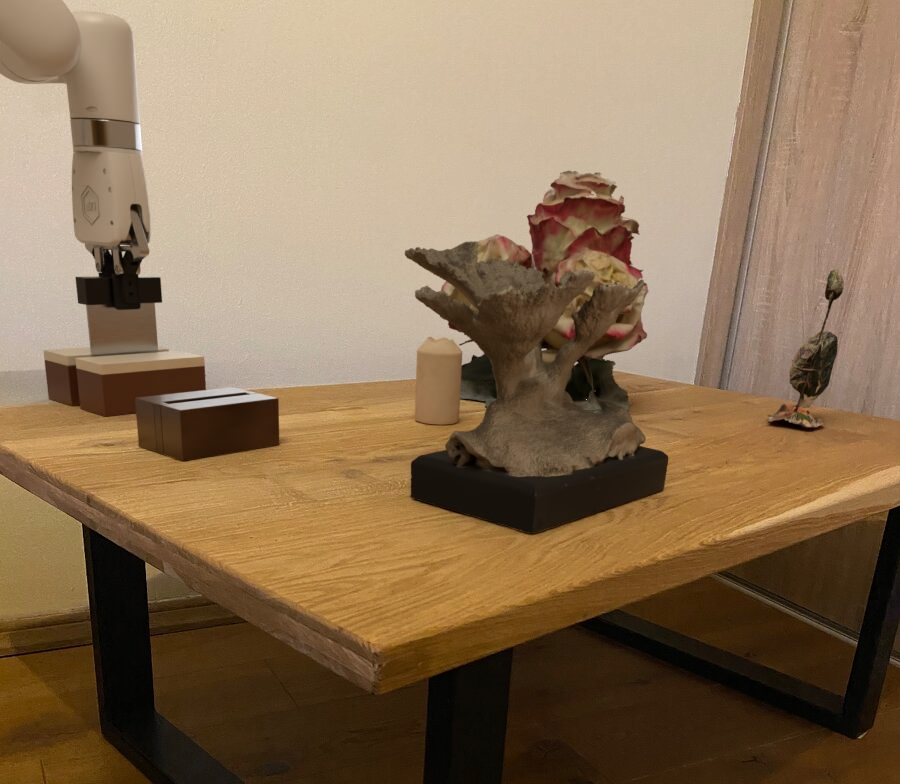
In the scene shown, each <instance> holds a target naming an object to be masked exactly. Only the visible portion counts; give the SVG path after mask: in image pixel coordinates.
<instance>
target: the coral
mask: <svg viewBox="0 0 900 784" xmlns="http://www.w3.org/2000/svg"><path fill="white" fill-rule="evenodd" d="M478 245H479V244H478V242H477V240H475V241H464V242H462V243H460V244H458V245H456V246H455V247H452V248H451V249H450V248H446V249H443V250H438V249H435V248H431V247H430V248H429V249H426V248H425V247H423V248H421V247H420V246H418V247H417V246H416V247H415V248H413V247H412V248H408V249H405V250H404V256H405V257H406V258H407V259H408V260H411V261H412V262H414V263H415V264H417V265H418V266H419V267H421V268H422V269H424V270H426V271H428V272H429V273H431V274H433V275H435V276H436V277H439V278H440V279H442V280H443V281H444V282H446V281H447V282H448V283H449V284H451V285H453V287H455V288H456V289H457V290H459V291H460V292H461V293H462V294H463V295H464V296H465V297H466V298H467V299H468V301H469V302H470V303H471V304H472V305H473V306H474V307H475V308H476V309H478V310H479V312H478V313H477V312H476V311H473V310H472V308H470V307H469V306H467V305H466V304H465V303H464V302H459V301H457V300H456V299H451V297H450V295H448V294H447V293H446V292H445V291H444V290H441V289H440V290H438V291H436V290H434V289H432V287H430V286H429V285H428V284H427V285H426V286H421V287H420V289H416V290H414V297H415V299H416V300H417V301H419V302H420V303H422V304H423V305H424V306H425V307H427V308H428V309H430V310H431V311H433V312H434V313H435V314H437V315H439V317H440V318H441V319H442V320H445V321H447V322H450V323H451V324H453V325H454V326H455V327H456V328H458V329H459V330H460V331H461V332H460V333H462V334H464V333H465V334H466V335H465V336H466V337H468V338H469V340H471V339H472V340H473V342H474V343H475V344H476V345H477V346H478V348H479V349H480V351H482V352H483V354H486V355H487V356H488V357H489V359H490V361H491V364H492V370H493V375H494V378H495V381H496V388H497V399H496V400H495V401H493V402H491V403H490V404H489V405H488V407H486V409H485V412H484V415H483V418H482V421H481V422H480V423H479V424H478V425H477V426H476V427H475V428H473V429H471V430H467V431H465V430H464V431H463V430H462V431H459V430H455V431H453V432H452V433H451V434H450V436H449V439H448V441H447V442H446V443H445V445H444V447H445V449H444V450H439V451H434V452H429V453H425V454H420V455H418V456H417V457H416V458H414V459H413V460H411V462H410V498H411V499H414V500H416V501H417V500H418V501H421V502H423V503H427V504H431V505H433V506H436V507H440V508H444V509H447V510H450V511H454V512H458V513H461V514H465V515H468V516H471V517H475V518H479V519H481V520H485V521H488V522H492V523H495V524H497V525H501V526H505V527H509V528H511V529H514V530H517V531H520V532H524V533H528V534H536V533H540V532H544V531H545V530H549V529H552V528H556V527H558V526H561V525H563V524H566V523H571V522H573V521H576V520H579V519H583V518H585V517H587V516H591V515H595V514H597V513H600V512H603V511H606V510H609V509H612V508H615V507H618V506H621V505H624V504H628V503H630V502H633V501H636V500H640V499H642V498H647V497H648V496H651V495H654V494H657V493H660V492H662V491H665V485H666V478H667V473H668V472H667V471H668V465H669V455H668V454H667V453H666V452H664V451H662V450H659V449H656V448H650V447H645V446H642V445H643V444H644V443H645V442H646V439H647V437H646V435H645V433H644V432H643V431H642V430H641V428H639V427H638V426H637V425H636V423H634V421H633V418H632V416H631V414H630V412H627V410H626V409H625V408H623V407H615V408H613V409H610V410H608V411H607V412H603V413H599V414H596V413H590V412H587V411H585V410H584V409H582V408H581V407H579V406H578V405H576V404H575V403H574V402H573V400H572V398H571V396H570V395H569V394H568V393H567V392H566V391H565V388H566V384H567V381H568V376H569V374H570V373H571V369H572V368H573V366H574V365H576V364H577V362H576V361H577V360H578V359H579V358H580V357H582V356H583V355H584V353H585V352H586V351H587V350H588V348H589V347H590V346H592V344H594V343H595V342H596V341H597V340H598V339H600V338H601V337H602V336H603V335H604V334H605V333H606V332H607V331H608V329H609V328H610V327H611V325H612V324H613V323H614V321H615V319H616V318H617V317H618V315H619V314H621V312H623V311H624V309H625V308H626V307H627V306H630V305H631V302H633V301H634V300H635V298H636V297H637V295H638V294H639V293H640V291H641V289H642V288H643V286H644V283H645V280H644V279H643V278H642V279H641V278H640V279H639V280H638V281H639V282H638V283H637V285H634V287H633V288H632V289H631V288H630V289H629V287H628V286H627V285H625V284H624V285H622V284H621V283H619V282H614V284H608V285H598V286H597V287H595V289H594V291H593V295H592V297H591V299H590V300H589V301H587V300H585V302H584V303H583V305H582V306H581V307H580V310H579V311H576V312H573V313H572V315H571V317H572V319H573V320H574V325H575V337H574V338H573V339H572V340H571V341H570V342H568V343H567V344H564V345H562V347H561V349H560V350H559V352H558V353H557V355H556V357H555V360H554V361H552V362H551V363H546V362H544V361H543V359H542V351H543V349H542V348H541V345H542V343H543V341H544V338H545V336H546V335H547V334H548V333H549V332H550V331H551V330H552V328H553V327H554V326H555V325H556V324H557V323H558V321H559V319H560V317H561V315H563V312H564V310H565V309H566V307H567V306H568V305H569V303H570V302H572V301H573V299H574V298H575V297H577V296H579V295H580V294H581V293H583V292H584V291H585V290H586V288H587V287H588V286H589V285H590V284H591V282H592V281H593V280H594V277H595V273H594V272H590V271H585V270H582V269H579V270H574V271H573V272H572V271H571V270H569V271H565V272H564V274H565V275H562V277H561V278H560V281H559V286H558V287H557V288H556V286H555V276H556V273H553V274H552V275H551V277H549V282H548V283H547V284H545V281H544V279H543V278H542V277H541V276H542V275H543V273H542V272H541V271H538V270H535V269H532V268H528V270H527V269H526V268H525V267H524V266H521V265H520V266H519V264H517V262H514V260H513V261H511V262H510V261H508V260H507V261H502V260H501V259H499V260H498V259H497V258H490V259H489V260H487V261H486V262H484V261H480V262H479V263H478V262H477V261H478V256H477V255H478ZM627 287H628V288H627Z"/></svg>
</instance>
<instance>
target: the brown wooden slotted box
mask: <svg viewBox="0 0 900 784" xmlns="http://www.w3.org/2000/svg"><path fill="white" fill-rule="evenodd" d="M279 402H280V400H279V397H276V396H271V395H266V394H262V393H259V392H255V391H250V390H246V389H241V388H238V387H234V386H231V387H221V388H213V389H212V388H211V389H206V390H202V391H193V392H184V393H175V394H166V395H156V396H147V397H138V398H135V404H136V413H135V415H136V428H137V442H138V447H139V448H142V449H146V450H149V451H152V452H155V453H158V454H160V455H165V456H167V457H169V458H173V459H176V460H178V461H181V462H187V461H191V460H198V459H203V458H210V457H215V456H222V455H229V454H234V453H239V452H245V451H246V452H247V451H250V450H256V449H263V448H268V447H274V446H279V445H280V405H279Z"/></svg>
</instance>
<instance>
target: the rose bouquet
mask: <svg viewBox="0 0 900 784" xmlns="http://www.w3.org/2000/svg"><path fill="white" fill-rule="evenodd" d="M601 175H602V173H601V172H600V171H598V172H597V171H596V172H594V173H591V172H588V173H587V172H586V173H579V171H576V170H574V171H572V170H566V171H562V172H559V177H558V178H556V179H554V181H553V182H551V183H550V187H551V188H550V189H548V190H547V191H546V192H545V193H544V195H543V198H542V202H538V203H537V204H536V206H535V209H534V214H528V215H527V216H526V218H527V221H528V222H527V223H528V226H529V230H528V233H529V235H530V240H531V241H530V242H531V245H532V246H531V247H532V249H531V252H530V251H529V250H528V249H527V248H526V247H525V245H522V244H517V243H516V242H515V241H513V240H512V239H510V238H508V237H506V236H505V235H500V234H498V233H497V234H493V235H491V236H489V237H487V238H484V239H480V240H476V242H478V244H479V245H478V255H477V256H478V261H477V262H478V263H479V262H480V261H484V262H486V261H487V260H489V259H490V258H497V259H498V260H499V259H501V260H502V261H507V260H508V261H510V262H511V261H513V260H514V262H517V264H519V266H520V265H521V266H524V267H525V268H526V269H527V270H528V268H532V269H535V270H538V271H541V272H542V273H543V275H542V276H541V277H542V278H543V279H544V281H545V284H547V283H548V282H549V277H551V275H552V274H553V273H556V276H555V286H556V288H557V287H558V286H559V281H560V278H561V277H562V275H565V274H564V272H565V271H569V270H571V271H572V272H573V271H574V270H579V269H582V270H585V271H590V272H594V273H595V277H594V280H593V281H592V282H591V284H590V285H589V286H588V287H587V288H586V290H585V291H584V292H583V293H581V294H580V295H579V296H577V297H575V298H574V299H573V301H572V302H570V303H569V305H568V306H567V307H566V309H565V310H564V312H563V315H561V317H560V319H559V321H558V323H557V324H556V325H555V326H554V327H553V328H552V330H551V331H550V332H549V333H548V334H547V335H546V336H545V338H544V341H543V343H542V345H541V348H542V359H543V361H544V362H546V363H551V362H552V361H554V360H555V357H556V355H557V353H558V352H559V350H560V349H561V347H562V345H564V344H567V343H568V342H570V341H571V340H572V339H573V338H574V337H575V325H574V320H573V319H572V317H571V315H572V313H573V312H576V311H579V310H580V307H581V306H582V305H583V303H584V302H585V300H587V301H589V300H590V299H591V297H592V295H593V291H594V289H595V287H597V286H598V285H608V284H614V282H619V283H621V284H622V285H624V284H625V285H627V286H628V287H629V289H630V288H631V289H632V288H633V287H634V285H637V283H638V282H639V281H640V280H641V279H642V280H643V279H644V277H643V271H644V269H639V268H636V267H634V266H633V265H634V263H633V262H632V261H631V254H632V247H633V242H632V241H633V240H634V239H635V237H634V236H633V234H635V235H639V236H640V235H641V234H640V231H639V227H640V223H639V221H638V220H636V219H634V218H629V217H626V216H623V215H622V214H625V211H626V205H625V204H624V201H625V200H624V199H625V197H624V196H623V195H620V197H619V198H618V199H616V198H614V197H613V196H612V195H613V194H614V192H615V191H616V189H617V188H618V186H617V185H616V184H617V181H615V180H611V179H609V178H603V177H602V176H601ZM628 287H627V288H628ZM441 290H444V291H445V292H446V293H447V294H448V295H450V297H451V299H456V300H457V301H459V302H464V303H465V304H466V305H467V306H469V307H470V308H472V310H473V311H476V312H477V313H478V312H479V310H478V309H476V308H475V307H474V306H473V305H472V304H471V303H470V302H469V301H468V299H467V298H466V297H465V296H464V295H463V294H462V293H461V292H460V291H459V290H457V289H456V288H455V287H453V285H451V284H449V283H448V282H447V281H444V283H443V285H442V286H441V289H440V291H441ZM649 292H650V291H649V288H648V283H646V282H644V286H643V288H642V289H641V291H640V293H639V294H638V295H637V297H636V298H635V300H634V301H633V302H631V305H630V306H627V307H626V308H625V309H624V311H623V312H621V314H619V315H618V317H617V318H616V319H615V321H614V323H613V324H612V325H611V327H610V328H609V329H608V331H607V332H606V333H605V334H604V335H603V336H602V337H601V338H600V339H598V340H597V341H596V342H595V343H594V344H592V346H590V347H589V348H588V350H587V351H586V352H585V353H584V355H583V356H582V357H580V358H579V359H578V360H577V361H576V363H575V364H574V366H573V368H572V369H571V373H570V374H569V376H568V381H567V384H566V388H565V391H566V392H567V393H568V394H569V395H570V396H571V398H572V400H573V402H574V403H575V404H576V405H578V406H579V407H581V408H582V409H584V410H585V411H587V412H590V413H596V414H599V413H603V412H607V411H608V410H610V409H613V408H615V407H623V408H625V409H626V410H627V412H628V413H630V409H629V407H630V406H632V405H634V402H630V401H629V399H628V398H629V395H628V391H627V390H625V389H624V388H622V387H620V385H619V384H618V383H617V382H616V380H615V378H614V376H615V375H613V374H614V371H613V370H614V366H616V362H615V361H614V360H611V359H605V358H604V357H606V356H608V355H611V354H617V353H623V352H627V351H630V350H632V349H633V348H634V347H636V346H637V345H638V344H640V343H642V342H643V340H645V339H647V338H648V333H647V332H646V331H645V330H644V325H643V322H642V312H643V307H644V305H645V300H646V297H647V295H648V293H649ZM447 322H448V321H447ZM447 326H448V328H449V329H451V330H453V331H457V332H458V333H462V332H461V331H460V330H459V329H458V328H456V327H455V326H454V325H453V324H451V323H450V322H448V323H447ZM463 335H464V336H467V335H466V334H465V333H463ZM472 342H474V341H473V340H472V339H468V340H465V341H464V342H461V343H459V344H458V347H460V346H463V345H465V344H468V343H472ZM460 399H466V400H467V399H468V400H473V401H480V402H481V401H482V402H485V405H484V406H485V407H486V408H487V407H488V405H489V404H490V403H491V402H493V401H495V400H496V399H497V388H496V381H495V378H494V375H493V370H492V364H491V361H490V359H489V357H488V356H487V355H486V354H484V353H483V354H482V355H480V356H477V355H475V354H473V355H472V356H471V360H470V361H468V362H467V363H464V364H463V363H462V369H461V388H460ZM586 399H587V400H586Z"/></svg>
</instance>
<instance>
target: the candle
mask: <svg viewBox="0 0 900 784" xmlns="http://www.w3.org/2000/svg"><path fill="white" fill-rule="evenodd" d="M462 365H463V350H462V349H461V348H460V346H459V345H458V344H457V343H456V342H455V341H454V339H453V338H451V339H449V338H448V337H445V336H444V337H440V338H437V339H435V338H434V337H432V336H427V337H426V339H425V340H424V341H423V343H422V344H421V345H420V346H419V347H418V348H417V349H416V368H415V369H416V370H415V398H414V419H415V421H416V422H418V423H422V424H426V425H427V424H428V425H438V426H439V425H443V426H444V425H452V424H457V423H458V422H459V419H460V408H461V407H460V406H461V405H460V404H461V403H460V402H461V398H460V388H461V369H462Z"/></svg>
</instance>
